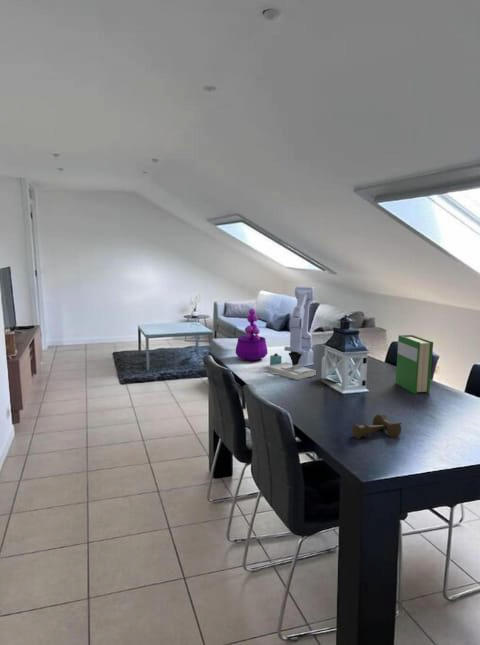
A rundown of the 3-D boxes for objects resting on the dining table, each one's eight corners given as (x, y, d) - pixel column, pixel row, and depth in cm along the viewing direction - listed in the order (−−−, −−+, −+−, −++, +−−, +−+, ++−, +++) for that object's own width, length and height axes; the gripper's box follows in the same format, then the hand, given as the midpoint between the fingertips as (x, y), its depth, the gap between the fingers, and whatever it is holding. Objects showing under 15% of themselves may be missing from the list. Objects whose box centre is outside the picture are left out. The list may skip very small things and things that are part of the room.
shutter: (301, 368, 251) (301, 363, 251) (310, 371, 246) (311, 366, 245) (291, 370, 247) (291, 365, 246) (301, 373, 241) (301, 368, 241)
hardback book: (429, 393, 219) (433, 342, 216) (414, 394, 218) (418, 342, 214) (409, 382, 237) (412, 334, 233) (395, 383, 235) (398, 335, 232)
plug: (275, 365, 269) (276, 352, 268) (281, 366, 266) (281, 353, 264) (270, 366, 266) (270, 353, 265) (275, 367, 263) (275, 355, 262)
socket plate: (285, 366, 265) (286, 361, 265) (318, 376, 247) (318, 370, 246) (266, 370, 257) (267, 364, 256) (299, 380, 238) (299, 374, 238)
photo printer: (319, 378, 242) (320, 354, 240) (325, 377, 244) (326, 353, 242) (335, 383, 234) (336, 358, 232) (341, 382, 237) (342, 357, 235)
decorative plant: (230, 357, 287) (230, 307, 282) (258, 354, 294) (258, 306, 290) (244, 364, 270) (244, 311, 265) (272, 361, 278) (274, 309, 273)
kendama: (346, 434, 172) (392, 425, 179) (362, 445, 163) (410, 436, 170) (347, 418, 171) (393, 410, 178) (363, 429, 162) (411, 420, 169)
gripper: (280, 339, 251) (279, 364, 253) (300, 343, 239) (299, 370, 241) (290, 337, 255) (289, 362, 257) (310, 342, 244) (309, 368, 246)
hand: (295, 366), depth 250 cm, fingers closed
